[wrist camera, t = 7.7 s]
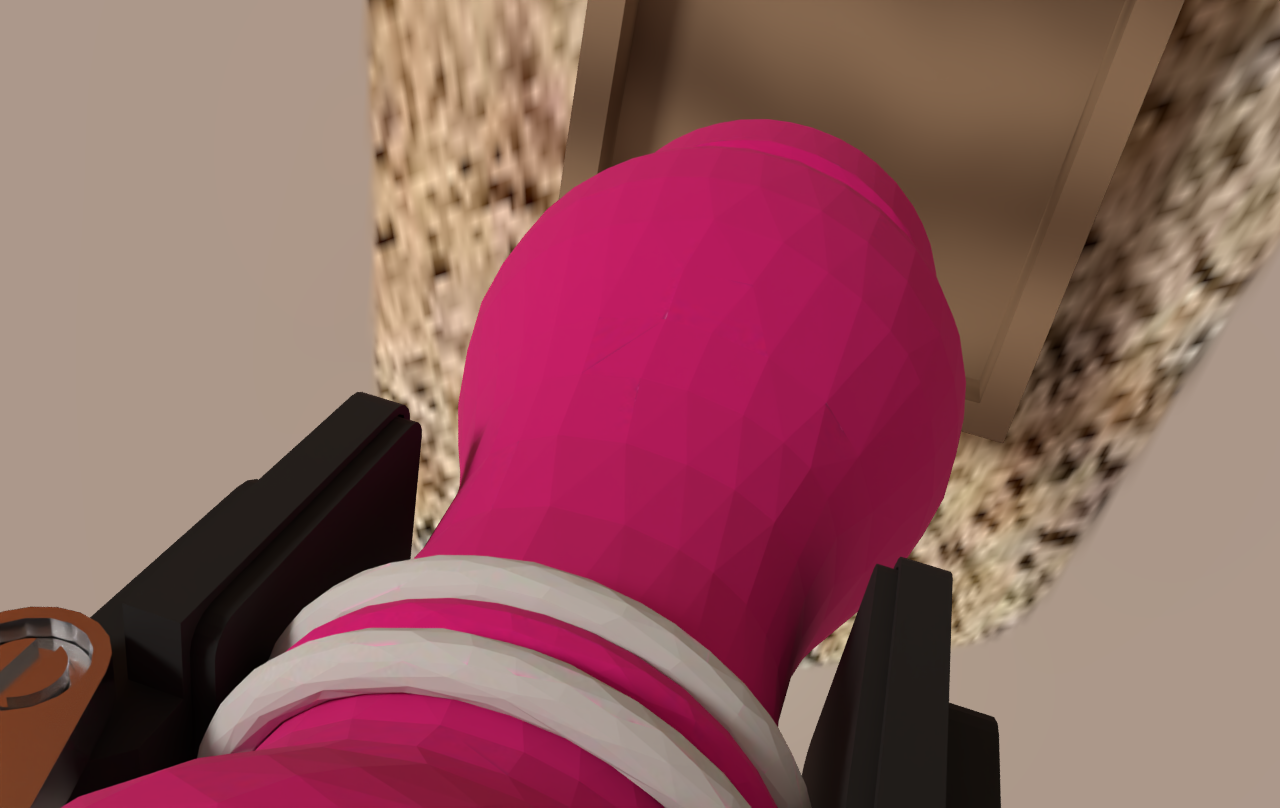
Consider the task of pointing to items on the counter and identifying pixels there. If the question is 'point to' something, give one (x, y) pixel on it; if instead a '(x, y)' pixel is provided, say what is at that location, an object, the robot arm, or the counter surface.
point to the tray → (906, 127)
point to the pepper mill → (630, 505)
